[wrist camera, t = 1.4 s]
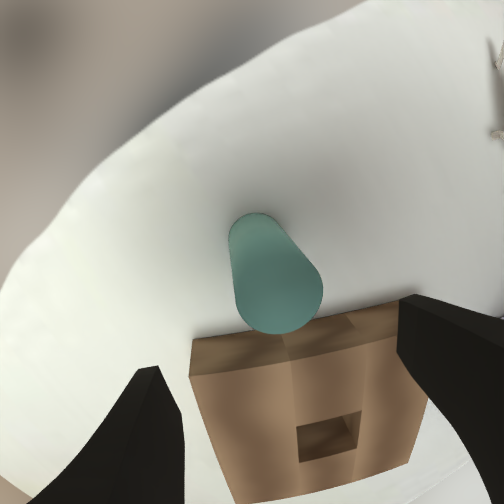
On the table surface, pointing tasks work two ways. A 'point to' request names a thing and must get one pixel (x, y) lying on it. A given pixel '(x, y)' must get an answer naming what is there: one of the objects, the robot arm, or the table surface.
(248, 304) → the peg
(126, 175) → the table surface
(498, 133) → the origami figure
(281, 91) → the table surface
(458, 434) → the robot arm
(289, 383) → the socket block
